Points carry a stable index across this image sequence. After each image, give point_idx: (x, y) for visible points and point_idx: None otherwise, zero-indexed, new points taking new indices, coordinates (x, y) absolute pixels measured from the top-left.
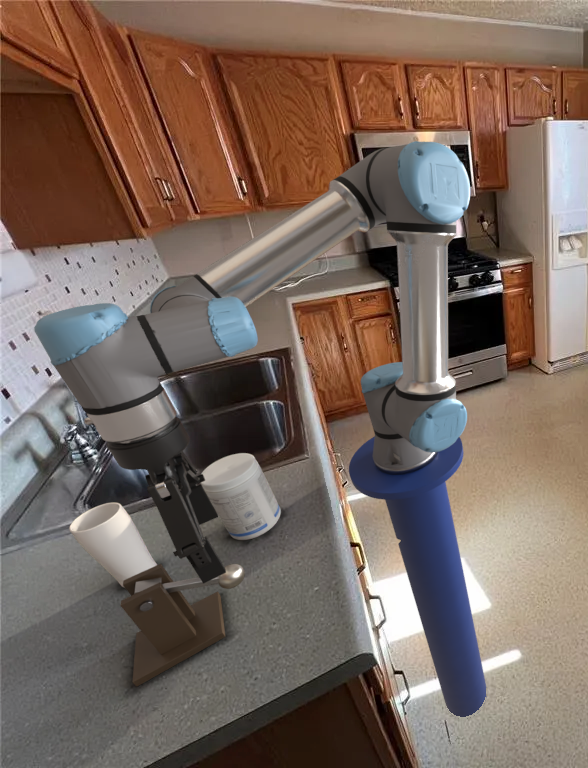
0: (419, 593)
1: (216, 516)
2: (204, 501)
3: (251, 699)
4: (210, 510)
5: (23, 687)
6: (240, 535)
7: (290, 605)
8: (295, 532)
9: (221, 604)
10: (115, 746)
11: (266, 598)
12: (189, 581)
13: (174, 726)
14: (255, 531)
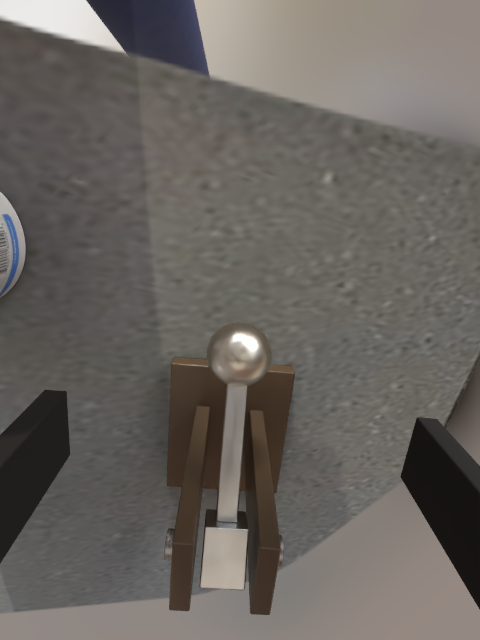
0: (157, 33)
1: (62, 398)
2: (7, 480)
3: (458, 354)
4: (43, 431)
5: (143, 588)
6: (6, 287)
7: (324, 245)
8: (77, 154)
9: (203, 359)
10: (353, 503)
11: (260, 282)
12: (232, 456)
13: (393, 446)
14: (16, 250)
